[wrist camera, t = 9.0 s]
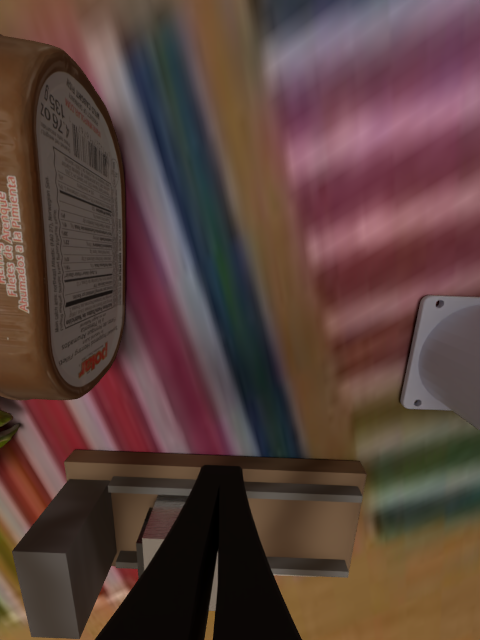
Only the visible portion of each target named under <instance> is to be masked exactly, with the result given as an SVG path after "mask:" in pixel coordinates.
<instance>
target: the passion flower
mask: <svg viewBox="0 0 480 640" xmlns="http://www.w3.org/2000/svg"><path fill="white" fill-rule="evenodd" d="M12 419H13V416H12V415H11V414H10V413H7V412H5V411H1V410H0V427H1V426H3V425H5V424H7V423H8V422H10V421H11V420H12ZM19 426H20V424H17V425H14V426H13V427H12V428H10V429H7V430H5V431H2V432H0V448H1V447H2V446H4V445H5V444H6V443H7V442H8V441H10V440H11V438H12V436H13V435H14V434H15V433H16V432H17V430H18V428H19Z"/></svg>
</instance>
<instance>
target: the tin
mask: <svg viewBox="0 0 480 640" xmlns="http://www.w3.org/2000/svg"><path fill="white" fill-rule="evenodd" d="M124 319H125V181H124V171H123V164H122V158H121V153H120V148H119V144H118V140H117V136H116V133H115V129H114V127H113V124H112V121H111V118H110V115H109V113H108V111H107V109H106V107H105V105H104V103H103V101H102V100H101V98H100V97H99V95H98V94H97V92H96V91H95V89H94V87H93V86H92V84H91V83H90V81H89V80H88V78H87V77H86V75H85V74H84V72H83V71H82V70H81V68H80V67H79V66H78V65H77V64H76V62H75V61H74V60H73V59H72V58H71V57H70V56H69V55H68V54H67V53H66V52H65V51H63V50H62V49H60V48H58V47H55V46H52V45H49V44H44V43H40V42H35V41H30V40H24V39H18V38H12V37H6V36H3V35H1V34H0V396H1V397H4V398H8V399H12V400H29V399H47V400H72V399H78V398H80V397H82V396H83V395H85V394H86V393H88V392H89V391H90V390H91V389H92V388H93V387H94V386H95V385H96V384H97V383H98V382H99V381H100V379H101V378H102V377H103V376H104V375H105V374H106V373H107V371H108V370H109V369H110V367H111V366H112V364H113V362H114V360H115V357H116V355H117V352H118V349H119V345H120V342H121V338H122V333H123V327H124Z"/></svg>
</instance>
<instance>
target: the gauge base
mask: <svg viewBox="0 0 480 640" xmlns="http://www.w3.org/2000/svg"><path fill="white" fill-rule="evenodd" d="M64 464H65V471H66V477H67V483H66V484H65V485H64V486H63V488H62V489H61V490H60V491H59V493H58V494H57V495H56V496H55V498H54V499H53V500H52V502H51V503H50V504H49V505H48V507H47V508H46V509H45V510H44V512H43V513H42V514H41V515H40V517H39V518H38V519H37V520H36V522H35V523H34V524H33V526H32V527H31V528H30V529H29V531H28V532H27V533H26V534H25V536H24V537H23V538H22V539H21V541H20V542H19V543H18V545H17V546H16V547H15V548H14V550H13V551H12V553H13V557H14V562H15V566H16V571H17V575H18V579H19V584H20V588H21V593H22V597H23V602H24V606H25V610H26V615H27V619H28V624H29V628H30V632H31V637H46V638H70V639H80V637H81V635H82V632H83V630H84V628H85V625H86V623H87V621H88V618H89V616H90V614H91V611H92V609H93V607H94V604H95V602H96V600H97V597H98V595H99V593H100V590H101V588H102V586H103V583H104V581H105V579H106V577H107V574H108V572H109V570H110V567H111V566H116V568H132V569H138V563H137V550H136V542H137V539H138V537H139V534H140V531H141V529H142V526H143V523H144V521H145V518H146V515H147V513H148V510H149V507H151V508H153V507H154V504H155V501H156V499H157V496H158V495H181V496H189V494H190V492H191V490H192V488H193V486H194V484H195V482H196V479H197V477H198V475H199V472H200V469H201V467H202V466H204V465H223V466H240V467H241V468H242V469H243V479H244V485H245V490H246V494H247V498H248V502H249V506H250V509H251V513H252V516H253V519H254V522H255V525H256V529H257V532H258V535H259V538H260V541H261V544H262V546H263V549H264V552H265V554H266V557H267V560H268V562H269V565H270V568H271V570H272V573H273V575H286V576H310V577H318V576H324V577H348V573H349V568H350V562H351V557H352V552H353V546H354V541H355V535H356V530H357V524H358V519H359V513H360V508H361V503H362V497H363V492H364V486H365V481H366V475H367V474H366V472H365V470H364V468H363V467H362V465H361V463H360V461H343V460H318V459H293V458H268V457H243V456H218V455H193V454H168V453H143V452H118V451H94V450H74V451H73V452H72V454H71V455H70V456H69V457H68V458H67V459H66V460H65V461H64Z"/></svg>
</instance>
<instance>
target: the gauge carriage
mask: <svg viewBox="0 0 480 640" xmlns="http://www.w3.org/2000/svg"><path fill="white" fill-rule="evenodd" d="M187 498H188V496H181V495H158V496H157V499H156V501H155V504H154V507H153V508H151V507H149V510H148V513H147V515H146V518H145V521H144V523H143V526H142V529H141V531H140V534H139V537H138V539H137V542H136V550H137V563H138V576H139V578H140V576H141V575H142V574H143V572H144V571H145V569H146V567H147V566H148V564H149V563H150V561H151V560H152V558H153V557H154V555H155V553H156V552H157V550H158V549H159V547H160V545H161V544H162V542H163V541H164V539H165V537H166V536H167V534H168V532H169V531H170V529H171V527H172V526H173V524H174V522H175V520H176V518H177V517H178V515H179V513H180V511H181V509H182V508H183V506H184V504H185V502H186V500H187ZM217 587H218V553H217V559H216V566H215V573H214V579H213V586H212V592H211V599H210V605H209V610H211V611H215V610H216V599H217Z"/></svg>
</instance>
